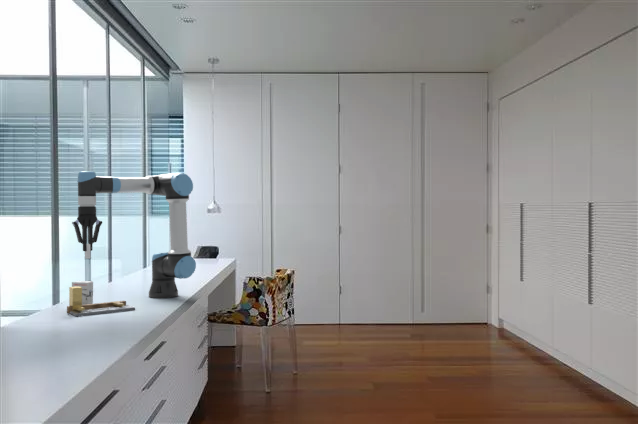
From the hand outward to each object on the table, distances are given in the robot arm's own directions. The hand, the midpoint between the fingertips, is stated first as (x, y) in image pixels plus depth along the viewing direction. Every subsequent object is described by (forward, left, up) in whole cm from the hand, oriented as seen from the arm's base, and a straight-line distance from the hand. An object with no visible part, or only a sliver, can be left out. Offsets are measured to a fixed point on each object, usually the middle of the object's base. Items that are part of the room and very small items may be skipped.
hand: (87, 258), depth 261 cm
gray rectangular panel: (-5, +5, -24) cm, 25 cm away
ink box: (-3, -17, -24) cm, 30 cm away
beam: (-5, +1, -24) cm, 25 cm away
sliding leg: (+4, 0, -24) cm, 24 cm away
